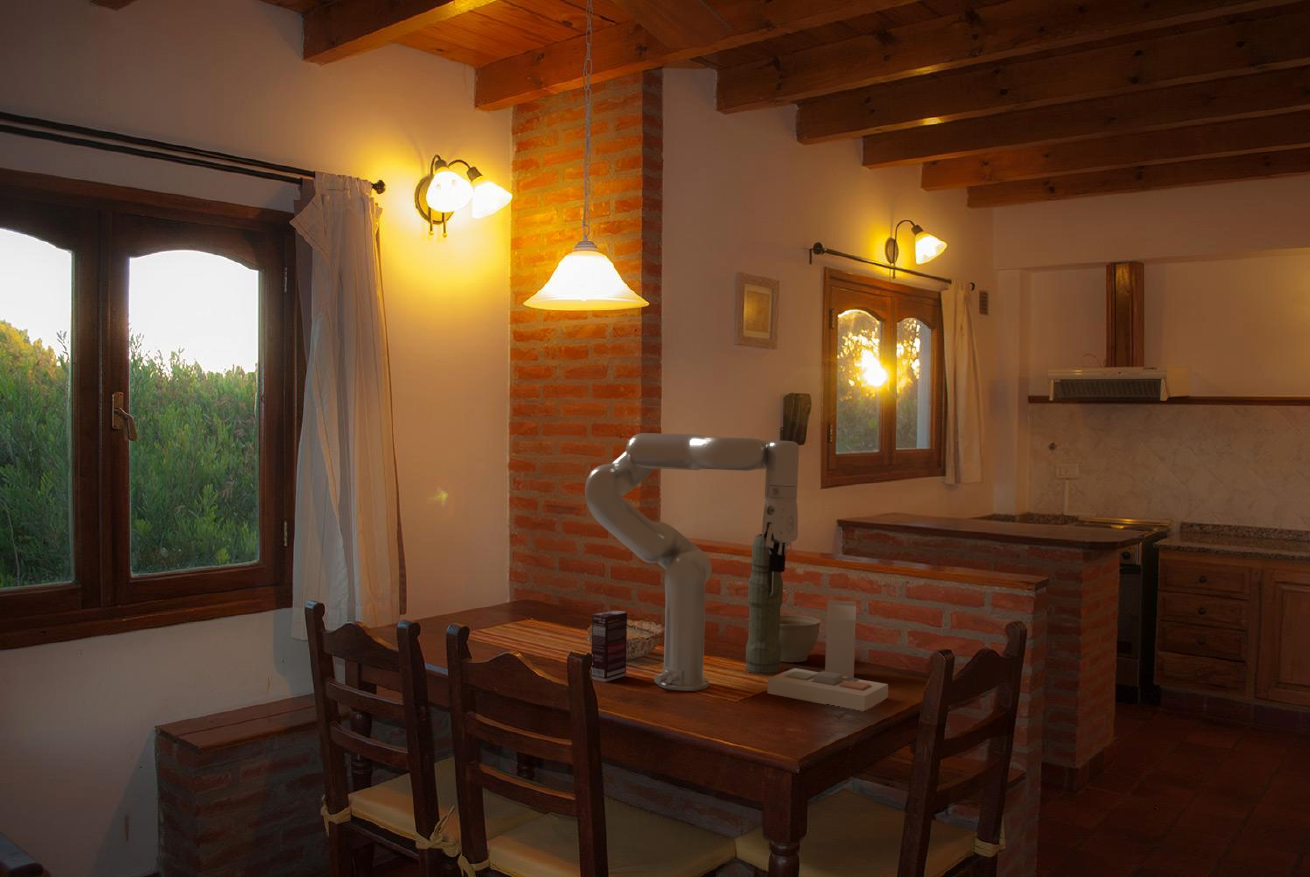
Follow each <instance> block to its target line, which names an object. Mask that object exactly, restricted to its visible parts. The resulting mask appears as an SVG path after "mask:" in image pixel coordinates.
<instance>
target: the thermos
mask: <svg viewBox="0 0 1310 877" xmlns="http://www.w3.org/2000/svg"><path fill="white" fill-rule="evenodd" d="M773 541H775V540H773ZM751 546H752V548H751V572H750V573H751V574H750V577H749V579H748V592H747V593H748V594H747V595H748V596H747V602H748V606H749V612H748V613H749V615H748V616H749V617H748V639H747V642H746V645H745V663H746V667H745V671H746V670H747V671H749V672H751V673H750V674H752V673H754V674H753V675H758V674H762V675H761V676H772V675H771V674H775V675H777V674H776V673H778V674H780V670H781V669H780V664H781V662H782V661H781V644H780V641H779V630H780V615H781V607H782V605H783V598H784V597H783V595H784V594H783V593H784V581H783V579H782V572H773V571H770V570H769V568H770V553H769V548H768V547H766V541H764V540H763V538H762V533H758V535H755V537H754V540H753V543H752V545H751ZM747 671H746V672H747ZM749 672H748V673H749Z"/></svg>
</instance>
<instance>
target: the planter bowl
mask: <svg viewBox="0 0 1310 877" xmlns="http://www.w3.org/2000/svg"><path fill="white" fill-rule="evenodd" d="M820 625H821V620H820V619H818V618H815V617H810V616H806V615H805V616H804V615H803V616H802V615H797V614H780V630H779V641H780V644H781V662H785V663H794V662H796V663H802V662H806V661H807V660H808V656H809V654H810V653H811V652H812V650H813V649H814V648H815V645H816V643H817V640H818V637H819V633H820Z"/></svg>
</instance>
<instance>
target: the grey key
mask: <svg viewBox="0 0 1310 877" xmlns="http://www.w3.org/2000/svg"><path fill="white" fill-rule="evenodd" d="M818 672H819V673H816V674H814V676H813V682H816V683H822V684H827V685H833V686H835V685H837V684H840V683H842V674H838V673H832V672H826V671H825V670H821V671H818Z"/></svg>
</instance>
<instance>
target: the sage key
mask: <svg viewBox="0 0 1310 877" xmlns="http://www.w3.org/2000/svg"><path fill="white" fill-rule="evenodd" d="M813 676H814V674H809V673H803V672H798V671H795V672H792V673H790V674H787V675H786V677H788V678H794V679H799V680H805V681H807V680H810V679H812V678H813Z"/></svg>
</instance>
